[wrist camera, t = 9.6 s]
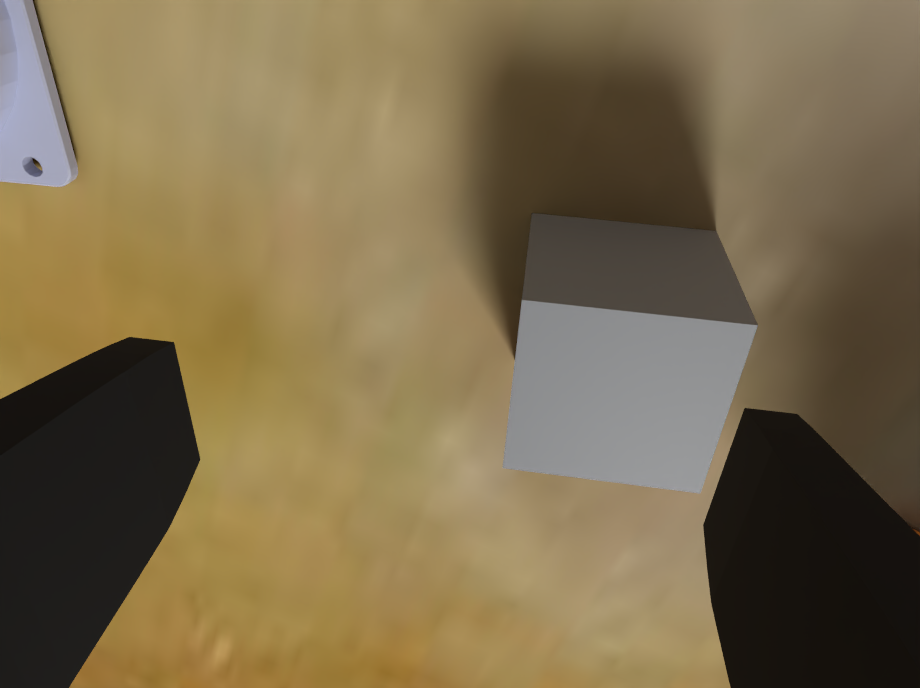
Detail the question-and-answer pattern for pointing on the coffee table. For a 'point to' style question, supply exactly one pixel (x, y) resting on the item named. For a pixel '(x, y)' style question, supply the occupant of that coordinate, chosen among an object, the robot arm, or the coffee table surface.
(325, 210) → the coffee table surface
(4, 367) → the coffee table surface
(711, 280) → the slate grey cube
